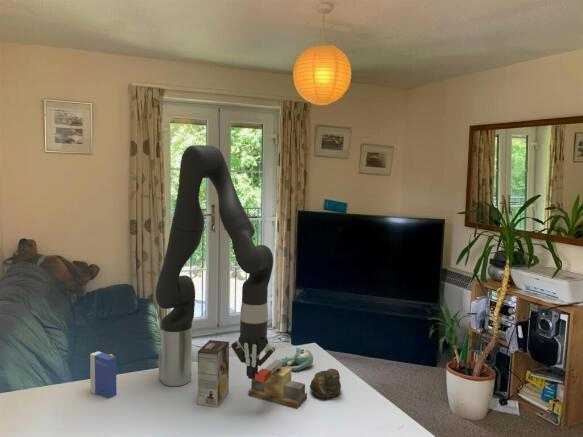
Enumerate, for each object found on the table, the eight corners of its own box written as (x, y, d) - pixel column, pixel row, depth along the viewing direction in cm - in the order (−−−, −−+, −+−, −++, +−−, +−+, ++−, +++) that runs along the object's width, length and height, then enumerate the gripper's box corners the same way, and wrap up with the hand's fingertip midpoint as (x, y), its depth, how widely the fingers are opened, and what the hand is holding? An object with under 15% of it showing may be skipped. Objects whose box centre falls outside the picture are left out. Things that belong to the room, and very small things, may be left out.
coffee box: (209, 389, 136) (209, 338, 134) (229, 392, 134) (229, 341, 133) (196, 405, 127) (197, 350, 125) (218, 408, 125) (218, 353, 124)
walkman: (116, 394, 131) (116, 355, 130) (108, 398, 129) (108, 358, 127) (98, 388, 135) (97, 349, 133) (90, 391, 132) (89, 352, 131)
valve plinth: (248, 395, 133) (248, 368, 132) (259, 385, 139) (260, 360, 138) (297, 408, 126) (298, 380, 125) (306, 398, 132) (307, 371, 132)
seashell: (315, 387, 127) (349, 384, 129) (307, 351, 136) (339, 349, 138) (310, 407, 134) (342, 404, 136) (303, 372, 143) (333, 370, 145)
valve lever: (275, 367, 133) (275, 357, 133) (283, 369, 132) (283, 359, 132) (254, 384, 122) (255, 373, 122) (263, 387, 121) (264, 376, 120)
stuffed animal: (278, 344, 159) (311, 339, 159) (281, 363, 160) (314, 359, 159) (275, 356, 149) (311, 351, 148) (279, 377, 149) (314, 372, 148)
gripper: (226, 318, 121) (224, 379, 123) (271, 325, 117) (269, 388, 119) (238, 310, 128) (236, 368, 130) (281, 317, 124) (278, 376, 126)
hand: (252, 377), depth 125 cm, fingers closed
